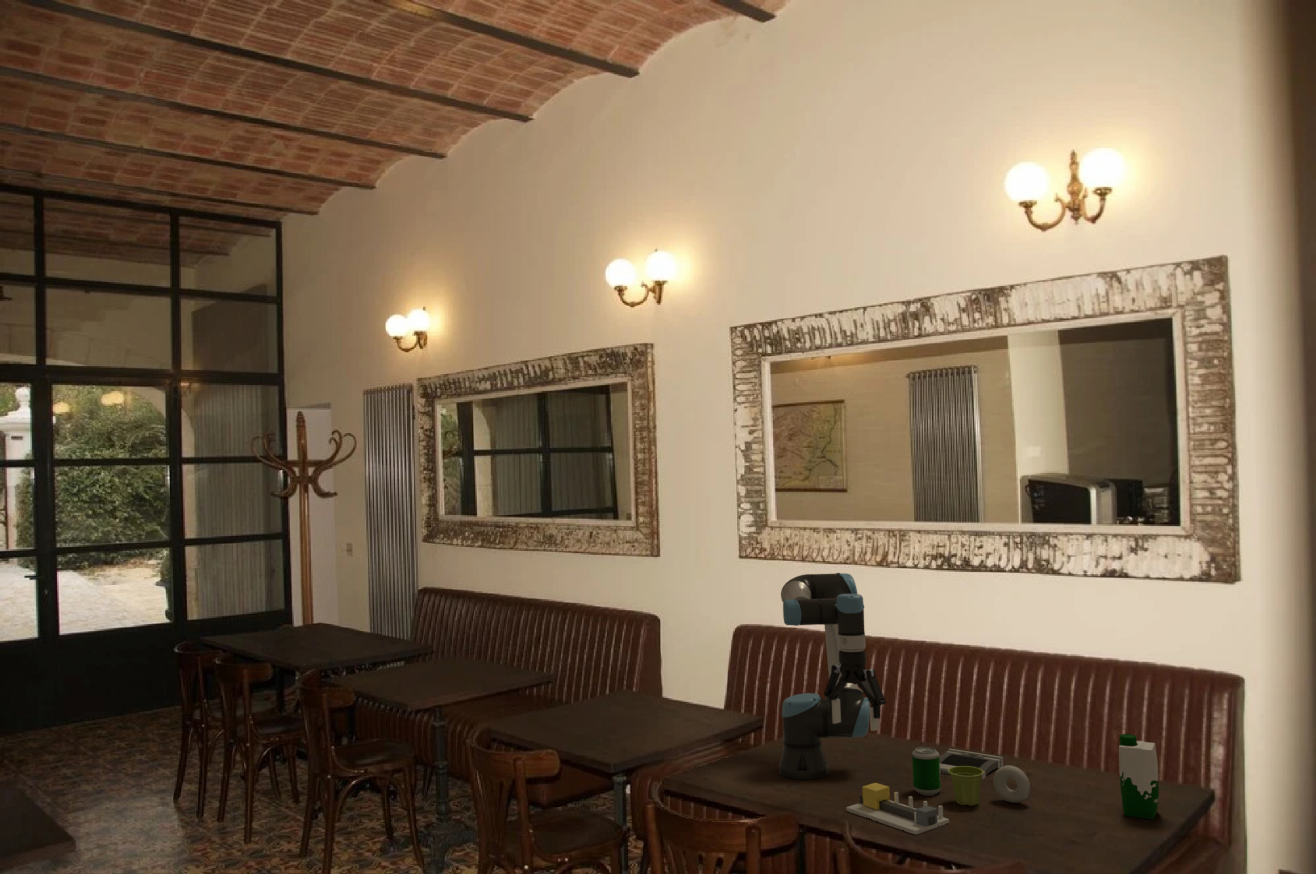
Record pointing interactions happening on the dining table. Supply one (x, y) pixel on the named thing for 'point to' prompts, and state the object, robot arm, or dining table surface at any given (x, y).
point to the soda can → (926, 770)
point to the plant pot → (966, 784)
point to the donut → (1016, 775)
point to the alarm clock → (969, 761)
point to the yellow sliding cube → (875, 794)
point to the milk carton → (1138, 777)
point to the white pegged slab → (902, 815)
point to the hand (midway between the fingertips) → (855, 726)
